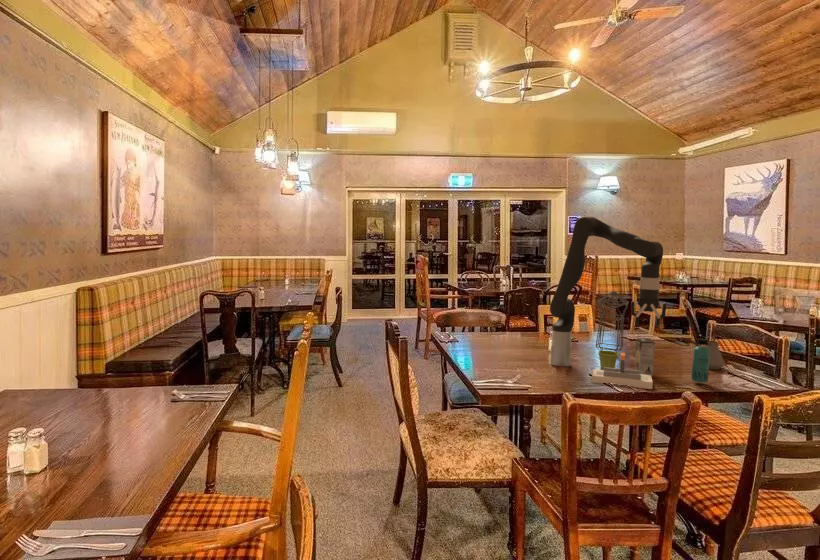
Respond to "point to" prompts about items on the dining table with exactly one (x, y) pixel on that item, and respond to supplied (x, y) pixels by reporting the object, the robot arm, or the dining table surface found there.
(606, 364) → the plant pot
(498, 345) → the dining table surface
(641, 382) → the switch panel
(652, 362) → the coffee box
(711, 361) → the coffee pot
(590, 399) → the dining table surface
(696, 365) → the beverage bottle
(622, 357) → the handle
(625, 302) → the geometric lantern
